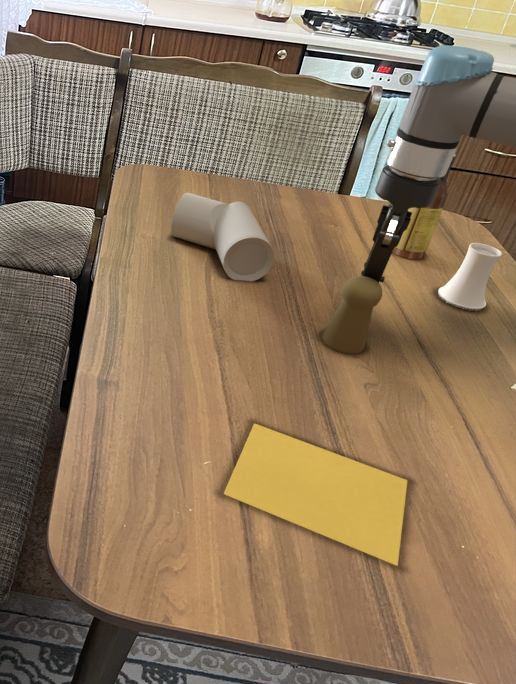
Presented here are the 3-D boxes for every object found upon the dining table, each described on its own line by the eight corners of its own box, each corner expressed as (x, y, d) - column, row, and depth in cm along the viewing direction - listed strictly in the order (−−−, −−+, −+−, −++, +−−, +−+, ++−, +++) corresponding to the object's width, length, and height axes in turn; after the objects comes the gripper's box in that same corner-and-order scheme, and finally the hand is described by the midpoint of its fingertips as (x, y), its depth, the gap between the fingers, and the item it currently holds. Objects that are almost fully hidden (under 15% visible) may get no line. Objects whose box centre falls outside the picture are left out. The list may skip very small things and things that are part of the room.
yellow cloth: (406, 482, 79) (407, 480, 79) (396, 568, 68) (397, 565, 68) (253, 425, 85) (254, 423, 85) (222, 496, 74) (223, 493, 74)
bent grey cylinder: (290, 248, 126) (189, 218, 134) (303, 199, 119) (196, 170, 127) (257, 304, 116) (150, 267, 124) (270, 254, 109) (155, 219, 116)
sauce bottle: (427, 255, 133) (471, 155, 121) (416, 264, 129) (461, 162, 117) (393, 243, 136) (434, 145, 125) (382, 252, 132) (422, 151, 121)
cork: (333, 356, 100) (356, 297, 93) (315, 330, 104) (335, 271, 97) (371, 352, 101) (397, 293, 93) (352, 326, 105) (375, 268, 98)
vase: (437, 286, 122) (461, 235, 116) (484, 299, 119) (510, 248, 113) (434, 303, 116) (459, 250, 111) (482, 318, 114) (511, 264, 108)
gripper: (388, 152, 98) (335, 294, 111) (379, 177, 88) (321, 329, 102) (445, 165, 95) (383, 308, 109) (441, 192, 86) (373, 346, 99)
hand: (353, 318), depth 105 cm, fingers closed
